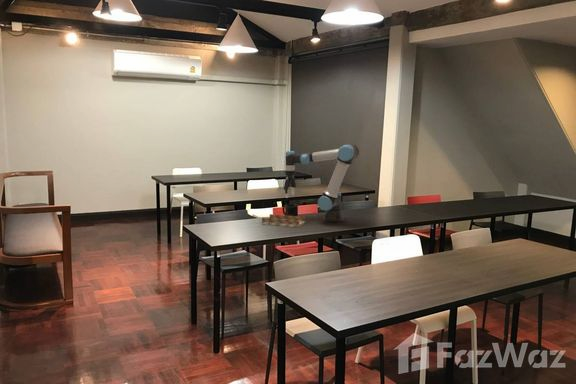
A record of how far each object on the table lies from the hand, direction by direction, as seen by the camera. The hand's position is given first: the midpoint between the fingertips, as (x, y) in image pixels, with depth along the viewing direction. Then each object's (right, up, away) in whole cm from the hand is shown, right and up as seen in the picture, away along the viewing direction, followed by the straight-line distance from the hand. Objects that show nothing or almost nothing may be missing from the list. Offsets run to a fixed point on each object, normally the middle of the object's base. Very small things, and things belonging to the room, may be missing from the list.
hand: (289, 196), depth 378 cm
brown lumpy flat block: (-5, -21, -15) cm, 26 cm away
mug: (0, -19, +3) cm, 19 cm away
